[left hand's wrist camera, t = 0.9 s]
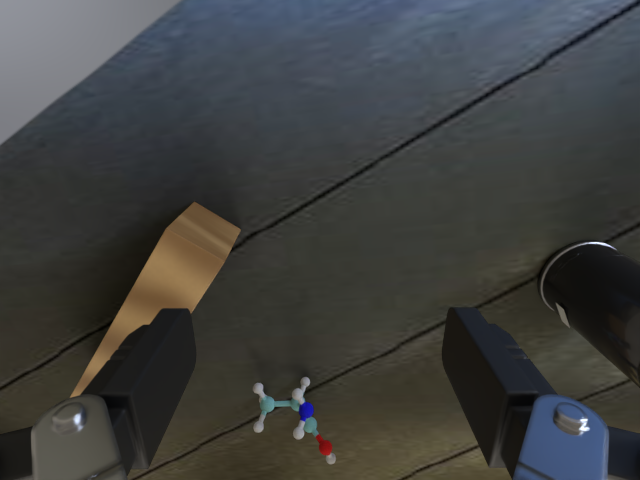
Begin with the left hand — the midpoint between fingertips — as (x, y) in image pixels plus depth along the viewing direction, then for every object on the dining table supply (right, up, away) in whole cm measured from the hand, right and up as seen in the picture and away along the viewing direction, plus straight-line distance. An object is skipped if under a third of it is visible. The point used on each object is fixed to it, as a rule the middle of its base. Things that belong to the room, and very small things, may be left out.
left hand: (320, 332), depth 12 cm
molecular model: (-3, -17, +37) cm, 41 cm away
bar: (-18, -5, +32) cm, 37 cm away
